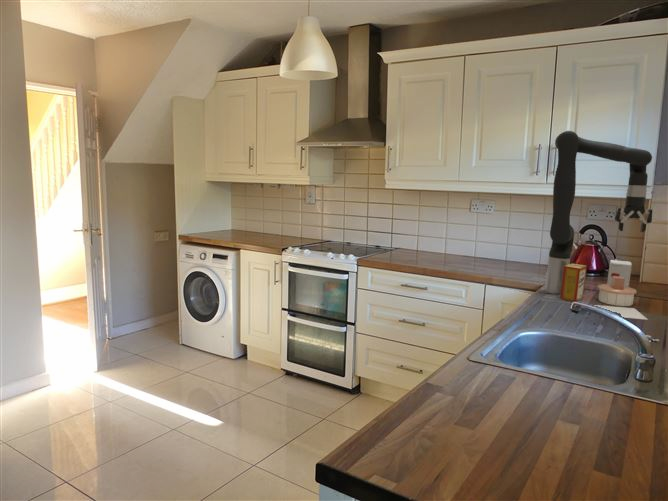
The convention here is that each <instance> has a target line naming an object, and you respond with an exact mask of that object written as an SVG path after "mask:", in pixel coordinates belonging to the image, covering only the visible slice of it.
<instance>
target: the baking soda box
mask: <svg viewBox="0 0 668 501" xmlns="http://www.w3.org/2000/svg"><path fill="white" fill-rule="evenodd" d="M587 267H588V266H587V265H584V264H577V263H570V264H569V265H566V266H564V274H563V283H562V291H561V294H560V299H561V300H567V301H570V302H575V301H576V302H578V301H579V300H582V299H583V298H584V292H585V286H586V277H587Z"/></svg>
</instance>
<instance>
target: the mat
mask: <svg viewBox="0 0 668 501" xmlns="http://www.w3.org/2000/svg"><path fill="white" fill-rule="evenodd" d="M593 306H594V307H595V306H598V307H601V308H604V309H607V310H610V311H612V312H617V313H620V314H621V316H622V317H621V318H623V317H624V319H625V318H626V319H636V320H646V321H647V320H648V321H649V318H647V317H646V316H645V315H643V314H642V313H641V312H639V311H638V310H637V309H636V308H634V307H625V306H613V305H599V304H594V305H593Z"/></svg>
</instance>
